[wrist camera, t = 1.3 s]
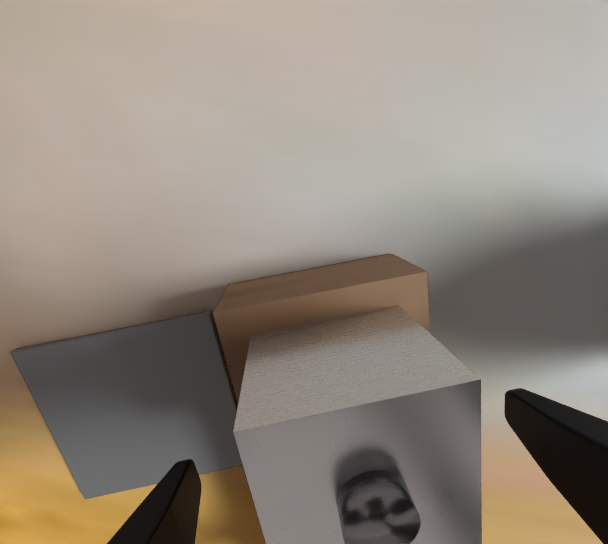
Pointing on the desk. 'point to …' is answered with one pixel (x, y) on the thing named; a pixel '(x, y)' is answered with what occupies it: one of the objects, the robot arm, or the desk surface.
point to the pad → (135, 402)
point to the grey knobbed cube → (361, 434)
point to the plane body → (315, 301)
